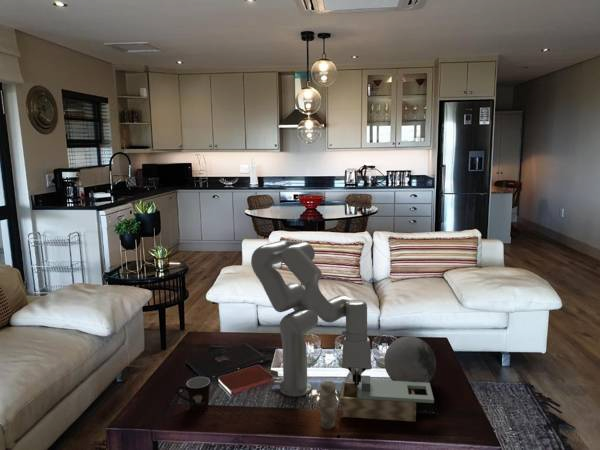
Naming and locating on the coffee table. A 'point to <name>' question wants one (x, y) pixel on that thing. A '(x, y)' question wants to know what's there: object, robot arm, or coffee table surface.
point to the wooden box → (374, 406)
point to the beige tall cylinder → (328, 404)
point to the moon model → (410, 360)
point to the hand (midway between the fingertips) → (356, 383)
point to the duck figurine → (351, 376)
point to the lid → (393, 390)
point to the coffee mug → (197, 392)
